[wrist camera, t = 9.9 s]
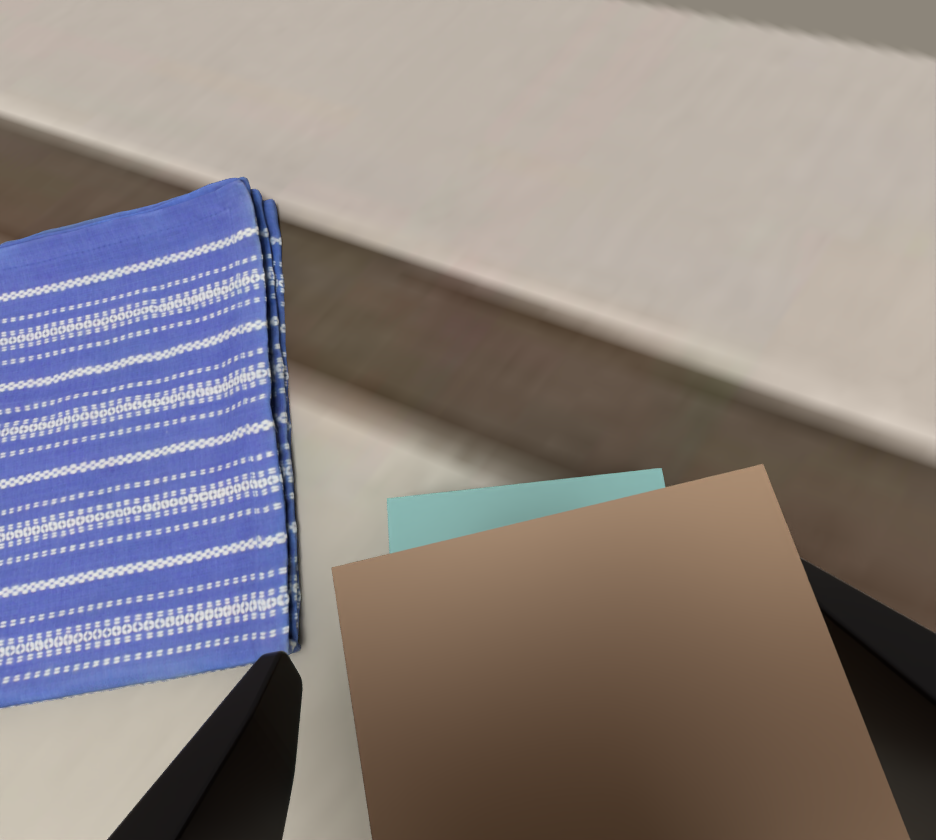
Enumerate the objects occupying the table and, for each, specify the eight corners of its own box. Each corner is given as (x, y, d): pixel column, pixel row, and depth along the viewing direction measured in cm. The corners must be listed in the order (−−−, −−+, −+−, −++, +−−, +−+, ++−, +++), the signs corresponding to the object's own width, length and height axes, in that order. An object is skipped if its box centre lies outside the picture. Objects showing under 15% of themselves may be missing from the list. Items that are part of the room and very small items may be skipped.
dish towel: (282, 196, 29) (256, 158, 27) (320, 654, 23) (290, 666, 20) (0, 265, 31) (-51, 236, 28) (-45, 718, 24) (-119, 736, 21)
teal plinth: (689, 751, 20) (725, 793, 16) (426, 766, 21) (401, 810, 17) (640, 485, 23) (661, 467, 19) (411, 510, 24) (386, 498, 20)
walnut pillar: (641, 687, 17) (981, 1021, 5) (489, 722, 17) (416, 1141, 5) (596, 532, 18) (762, 463, 6) (456, 566, 19) (331, 567, 6)
